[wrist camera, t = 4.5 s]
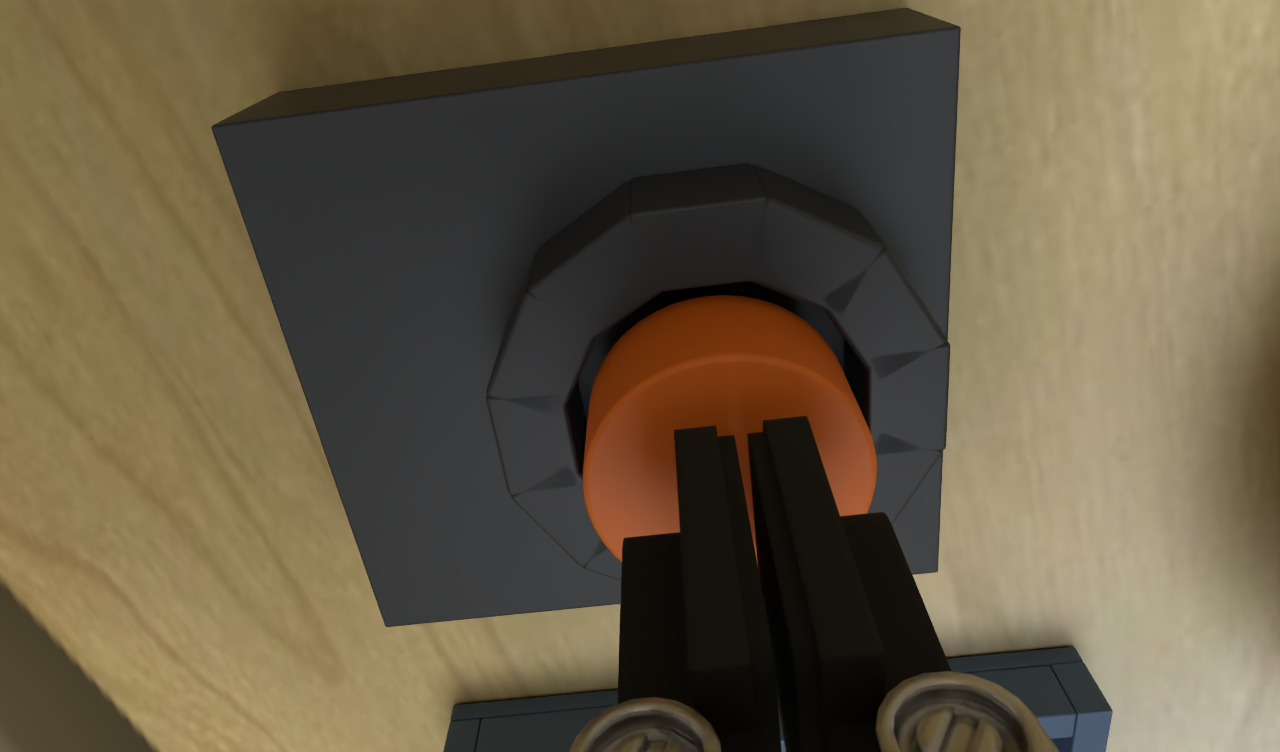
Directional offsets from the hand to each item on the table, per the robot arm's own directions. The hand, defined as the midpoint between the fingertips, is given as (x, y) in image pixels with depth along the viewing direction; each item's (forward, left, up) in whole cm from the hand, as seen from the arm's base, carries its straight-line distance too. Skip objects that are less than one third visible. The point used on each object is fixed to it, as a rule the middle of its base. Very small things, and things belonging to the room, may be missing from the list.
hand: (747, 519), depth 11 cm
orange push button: (0, 0, -3) cm, 3 cm away
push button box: (-2, 0, -7) cm, 7 cm away
